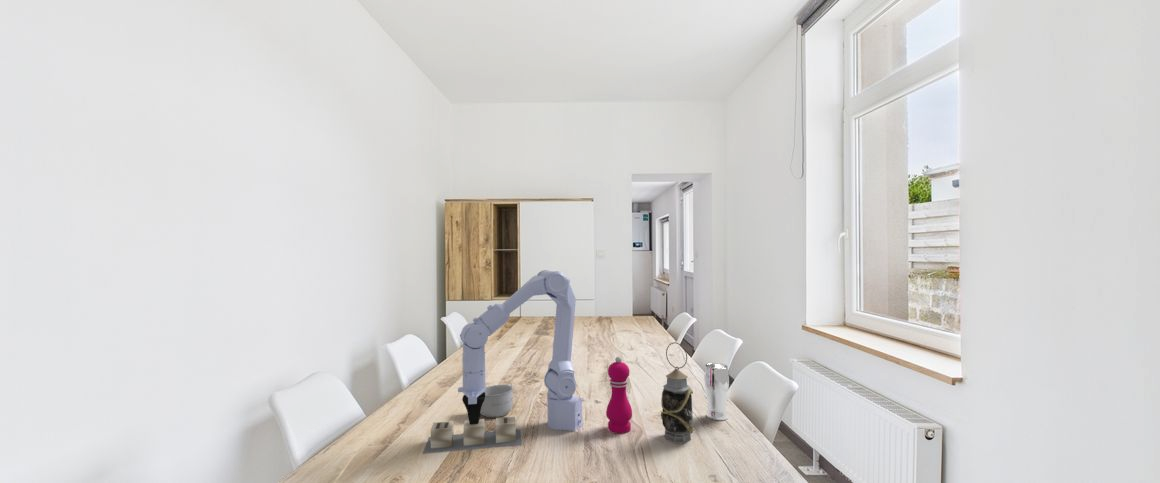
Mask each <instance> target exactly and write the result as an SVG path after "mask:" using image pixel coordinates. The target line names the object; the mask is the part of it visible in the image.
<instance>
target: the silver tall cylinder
mask: <svg viewBox="0 0 1160 483" xmlns="http://www.w3.org/2000/svg"><path fill="white" fill-rule="evenodd" d="M703 378H704V380H703V381H704V388H705V393H706V394H705V395H706V399H707V409H706V417H707V418H708V419H710V420H712V419H713V421H726V420H727V419H728V418H729V415H728V410H727V401H728V394H729V386H730V376H729V367H728V365H727V364H725V363H718V362H710V363H709V362H708V363H706V364H704V377H703Z"/></svg>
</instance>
